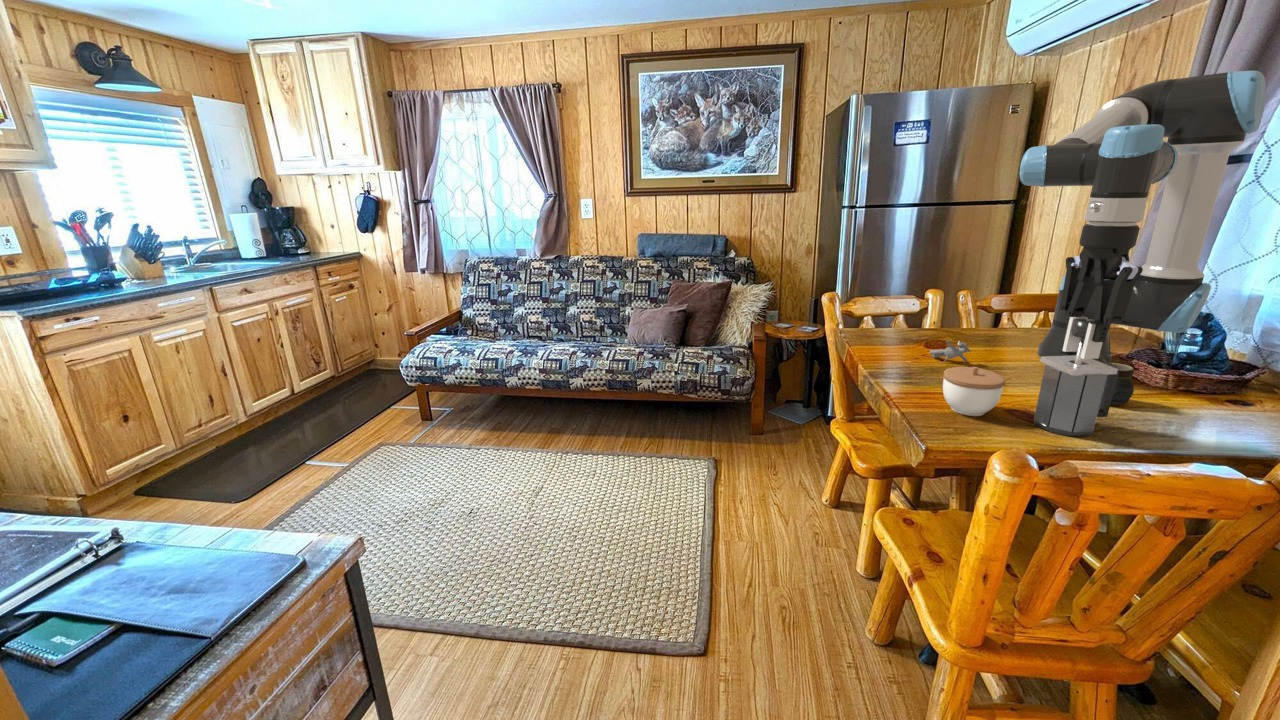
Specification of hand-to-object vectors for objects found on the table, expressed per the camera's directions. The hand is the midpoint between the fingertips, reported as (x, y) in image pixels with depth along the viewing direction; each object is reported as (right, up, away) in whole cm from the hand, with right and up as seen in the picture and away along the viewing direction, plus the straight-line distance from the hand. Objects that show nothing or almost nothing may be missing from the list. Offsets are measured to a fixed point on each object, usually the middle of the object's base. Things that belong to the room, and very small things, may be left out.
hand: (1080, 354), depth 100 cm
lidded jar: (-13, -12, +13) cm, 22 cm away
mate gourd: (+18, -10, +15) cm, 26 cm away
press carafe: (+2, -14, +5) cm, 15 cm away
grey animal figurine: (-1, -2, +42) cm, 42 cm away
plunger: (0, -11, +4) cm, 12 cm away
